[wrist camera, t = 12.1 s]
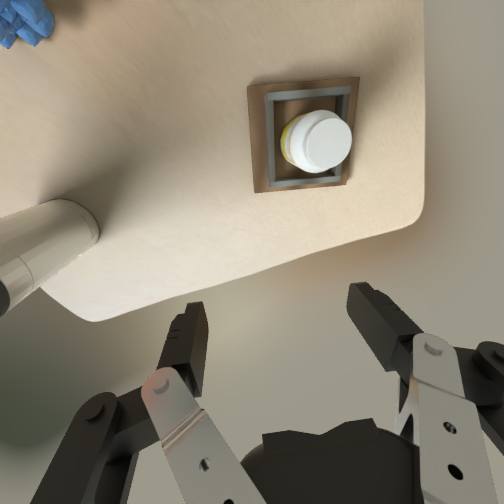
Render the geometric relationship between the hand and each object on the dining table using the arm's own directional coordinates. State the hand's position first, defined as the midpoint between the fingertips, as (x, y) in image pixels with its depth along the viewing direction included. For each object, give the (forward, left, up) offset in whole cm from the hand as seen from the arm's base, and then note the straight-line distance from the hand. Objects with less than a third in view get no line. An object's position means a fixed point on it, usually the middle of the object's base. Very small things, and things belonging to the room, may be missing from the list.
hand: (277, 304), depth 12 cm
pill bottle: (+8, +7, -27) cm, 29 cm away
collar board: (+8, +7, -28) cm, 30 cm away
